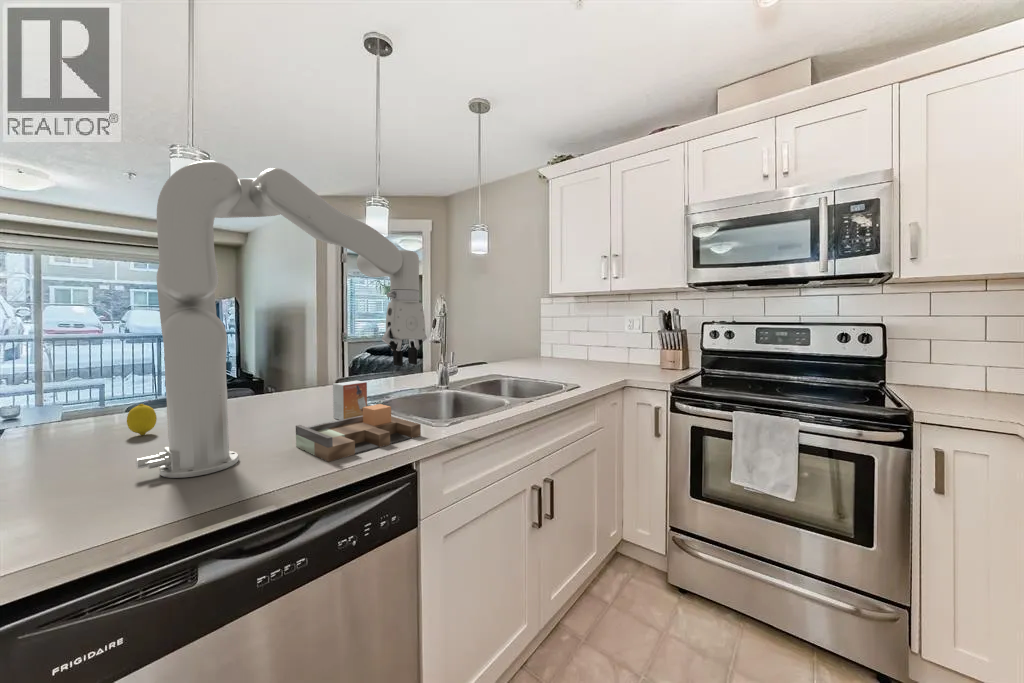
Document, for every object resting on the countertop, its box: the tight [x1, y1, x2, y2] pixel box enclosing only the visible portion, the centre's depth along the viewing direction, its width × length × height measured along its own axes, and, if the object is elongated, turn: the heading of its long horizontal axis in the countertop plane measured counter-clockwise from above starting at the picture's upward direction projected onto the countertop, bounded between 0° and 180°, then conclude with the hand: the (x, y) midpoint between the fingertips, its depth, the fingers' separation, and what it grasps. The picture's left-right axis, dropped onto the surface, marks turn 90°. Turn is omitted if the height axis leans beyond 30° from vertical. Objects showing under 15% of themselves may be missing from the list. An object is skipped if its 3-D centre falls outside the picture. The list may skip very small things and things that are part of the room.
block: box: [363, 403, 392, 426], centre depth 104 cm, size 5×5×4 cm
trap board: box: [295, 415, 422, 463], centre depth 98 cm, size 24×15×5 cm, turn 141°
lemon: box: [126, 403, 158, 436], centre depth 102 cm, size 6×6×8 cm
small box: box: [332, 380, 368, 421], centre depth 121 cm, size 8×6×10 cm
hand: (405, 364), depth 110 cm, fingers open, 4 cm apart
